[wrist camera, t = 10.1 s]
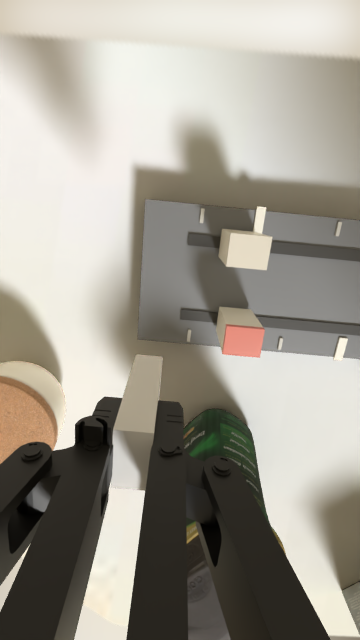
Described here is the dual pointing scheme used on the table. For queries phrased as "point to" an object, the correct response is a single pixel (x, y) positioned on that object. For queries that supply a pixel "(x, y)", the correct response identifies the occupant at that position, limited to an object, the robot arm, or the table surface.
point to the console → (251, 278)
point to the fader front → (244, 249)
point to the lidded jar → (29, 406)
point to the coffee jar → (201, 443)
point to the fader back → (239, 332)
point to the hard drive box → (353, 602)
